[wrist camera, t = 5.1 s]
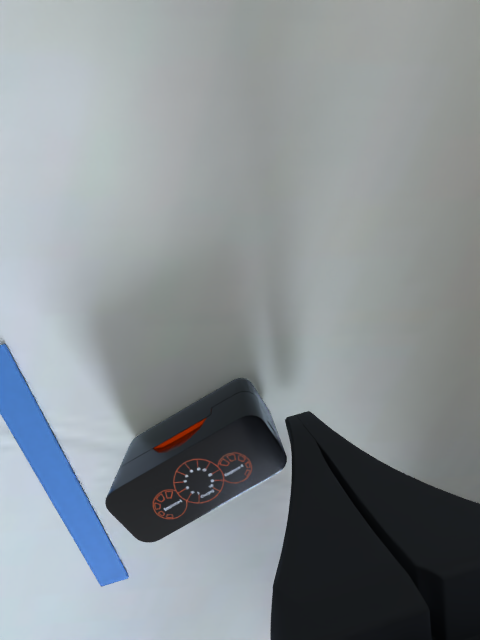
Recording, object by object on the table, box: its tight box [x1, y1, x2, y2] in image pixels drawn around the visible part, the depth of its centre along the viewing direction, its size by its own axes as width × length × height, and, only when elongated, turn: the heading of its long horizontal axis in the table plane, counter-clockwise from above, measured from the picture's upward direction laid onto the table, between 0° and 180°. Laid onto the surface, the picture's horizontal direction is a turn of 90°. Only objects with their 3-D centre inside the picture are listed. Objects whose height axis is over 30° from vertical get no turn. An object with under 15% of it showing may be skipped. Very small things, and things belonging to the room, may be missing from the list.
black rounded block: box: [106, 378, 287, 542], centre depth 11 cm, size 5×7×3 cm, turn 120°
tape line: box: [0, 344, 129, 586], centre depth 12 cm, size 14×2×1 cm, turn 14°
